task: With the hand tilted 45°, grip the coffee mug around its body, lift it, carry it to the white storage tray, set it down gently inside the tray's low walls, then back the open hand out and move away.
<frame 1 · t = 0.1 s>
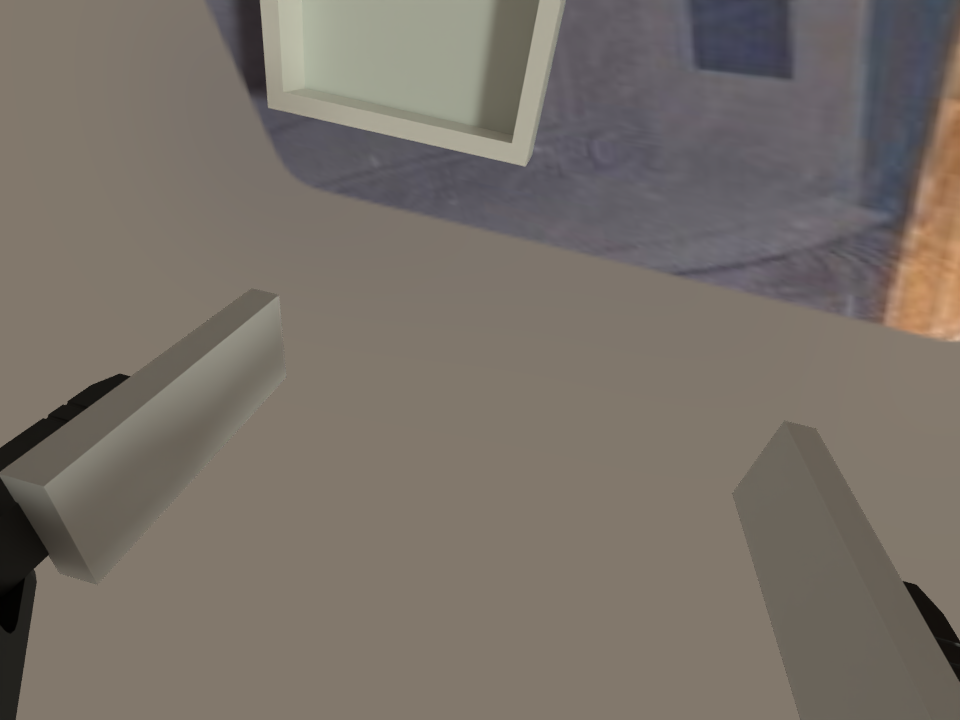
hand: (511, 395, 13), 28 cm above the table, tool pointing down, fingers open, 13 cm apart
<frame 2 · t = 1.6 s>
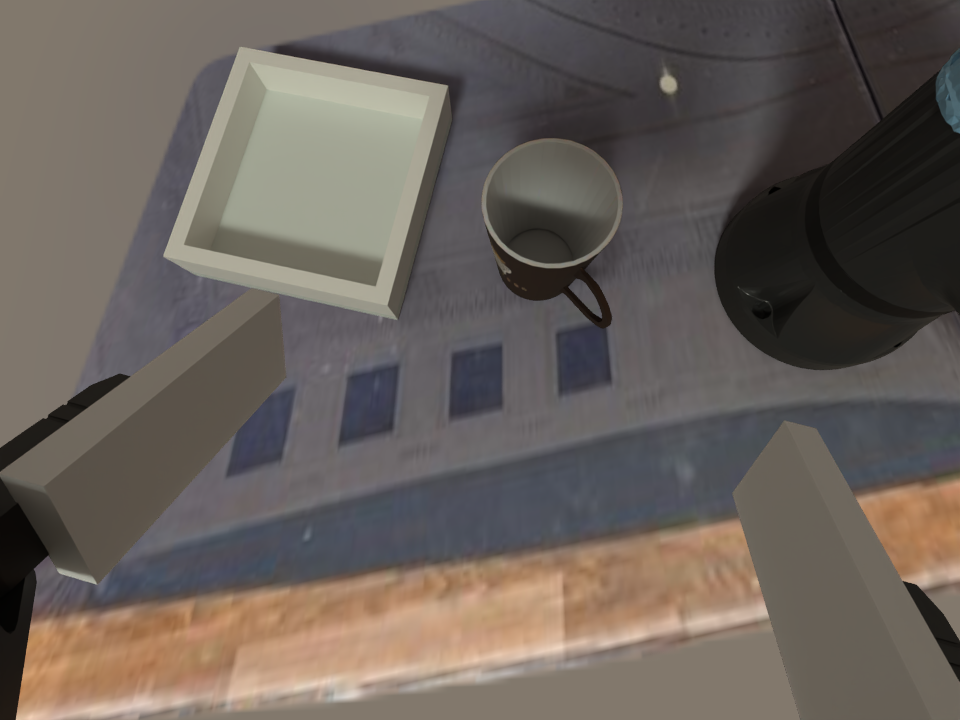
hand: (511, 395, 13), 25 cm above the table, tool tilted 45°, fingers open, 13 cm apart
white storage tray: (327, 195, 41), on the table
coffee mug: (538, 281, 39), on the table
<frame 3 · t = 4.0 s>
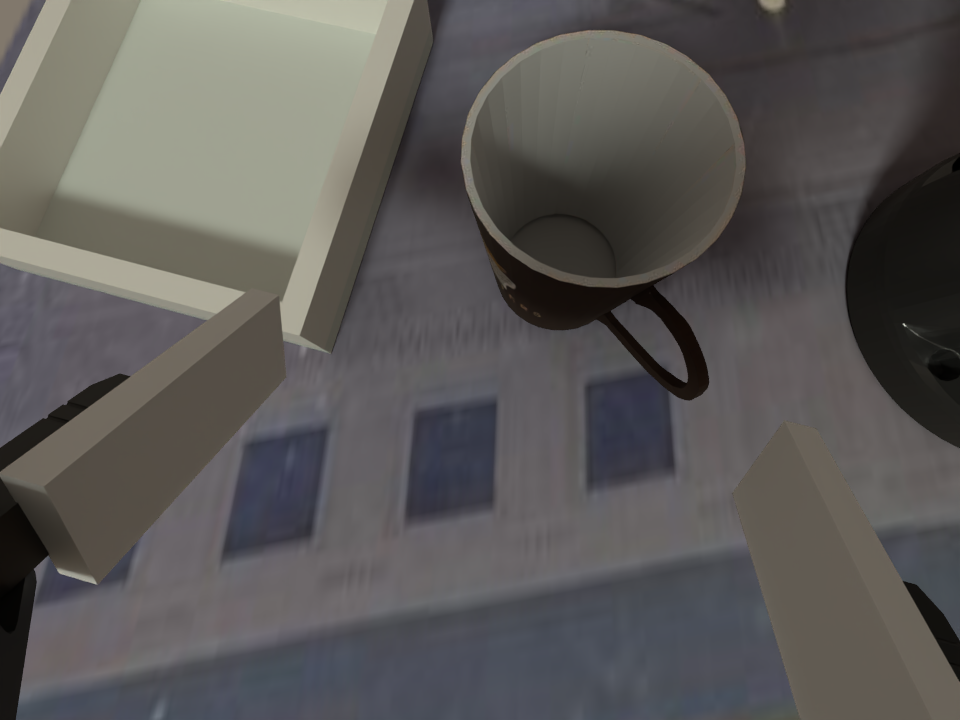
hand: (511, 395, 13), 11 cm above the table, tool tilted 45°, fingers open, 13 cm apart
white storage tray: (232, 151, 26), on the table
coffee mug: (558, 299, 25), on the table
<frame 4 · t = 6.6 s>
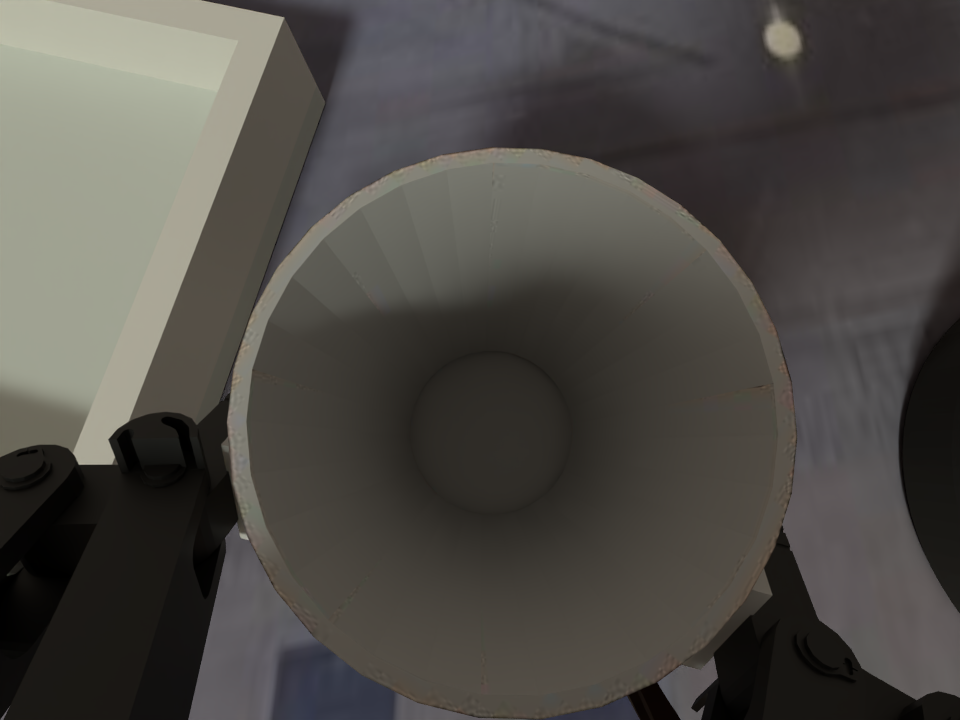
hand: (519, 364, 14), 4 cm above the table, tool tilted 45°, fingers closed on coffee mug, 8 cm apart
white storage tray: (43, 259, 19), on the table
coffee mug: (491, 474, 17), on the table, touching gripper
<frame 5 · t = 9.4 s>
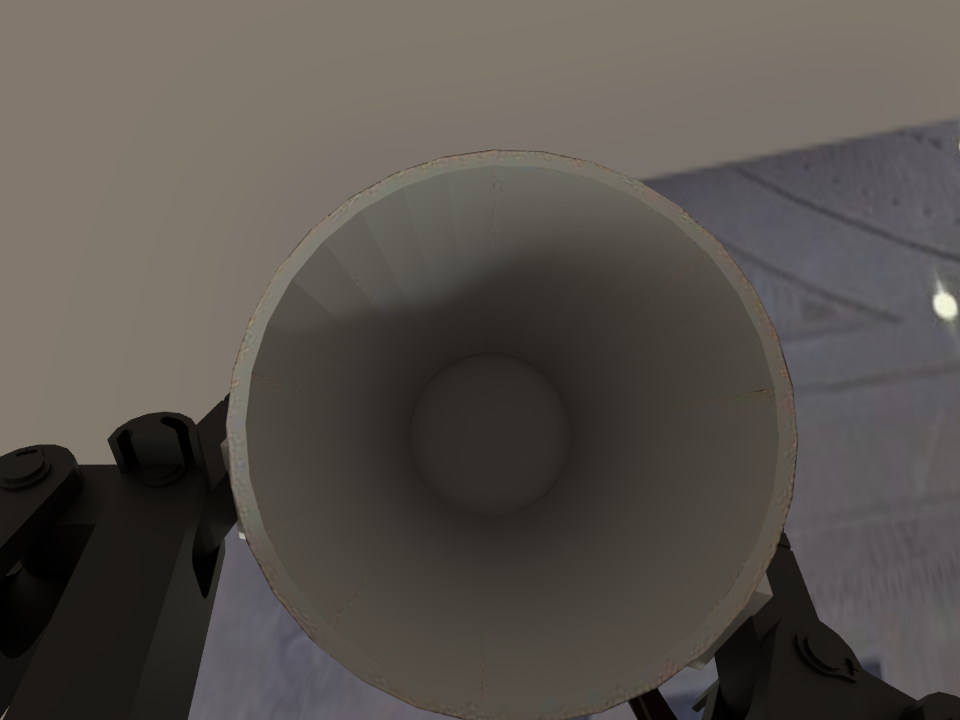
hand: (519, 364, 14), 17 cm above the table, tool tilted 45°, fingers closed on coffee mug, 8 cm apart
coffee mug: (491, 475, 17), point 13 cm above the table, touching gripper
when the fingers open (6 cm above the table, at t = 12.6 s): coffee mug moves 1 cm, resting on white storage tray.
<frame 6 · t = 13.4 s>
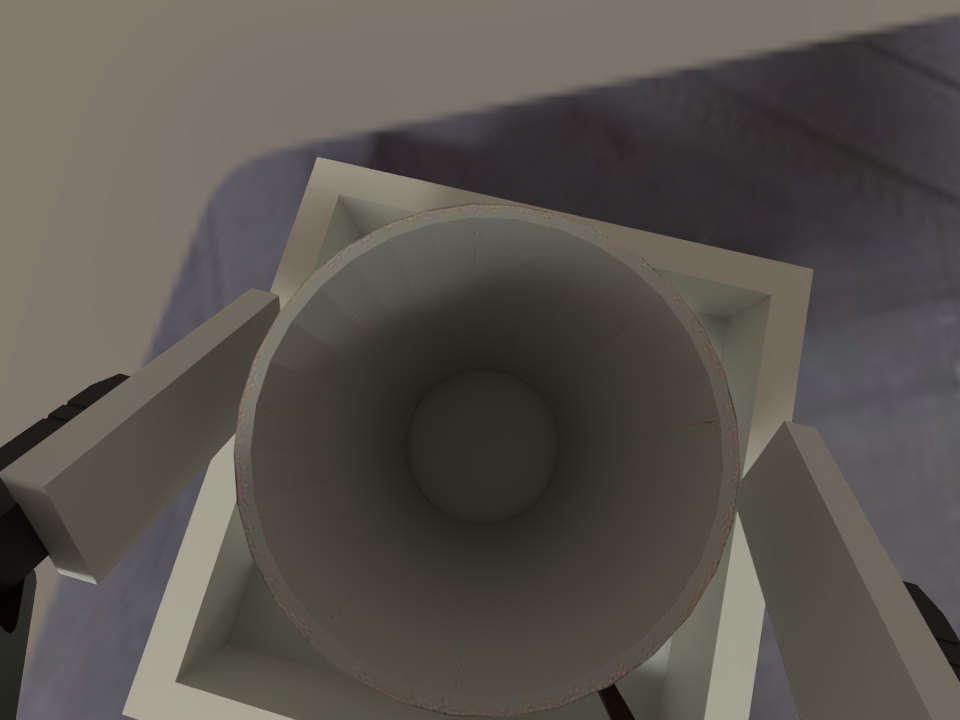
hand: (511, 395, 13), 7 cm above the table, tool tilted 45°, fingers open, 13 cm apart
white storage tray: (490, 471, 19), on the table
coffee mug: (483, 485, 18), point 1 cm above the table, touching white storage tray
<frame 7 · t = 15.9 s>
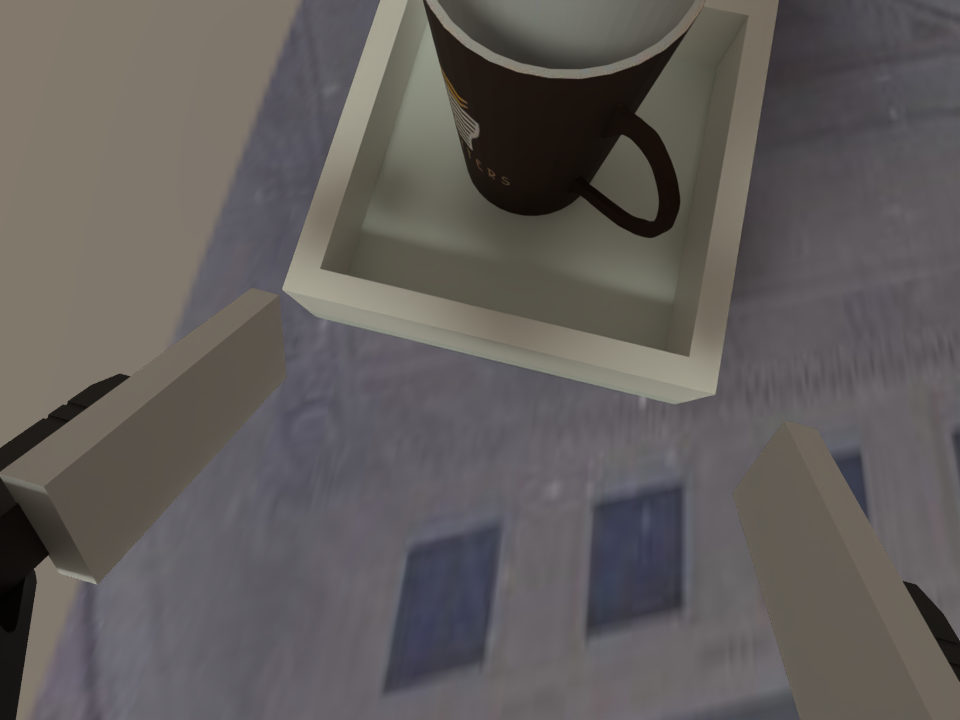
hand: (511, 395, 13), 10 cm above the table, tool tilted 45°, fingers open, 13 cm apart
white storage tray: (535, 186, 24), on the table
coffee mug: (531, 186, 24), point 1 cm above the table, touching white storage tray
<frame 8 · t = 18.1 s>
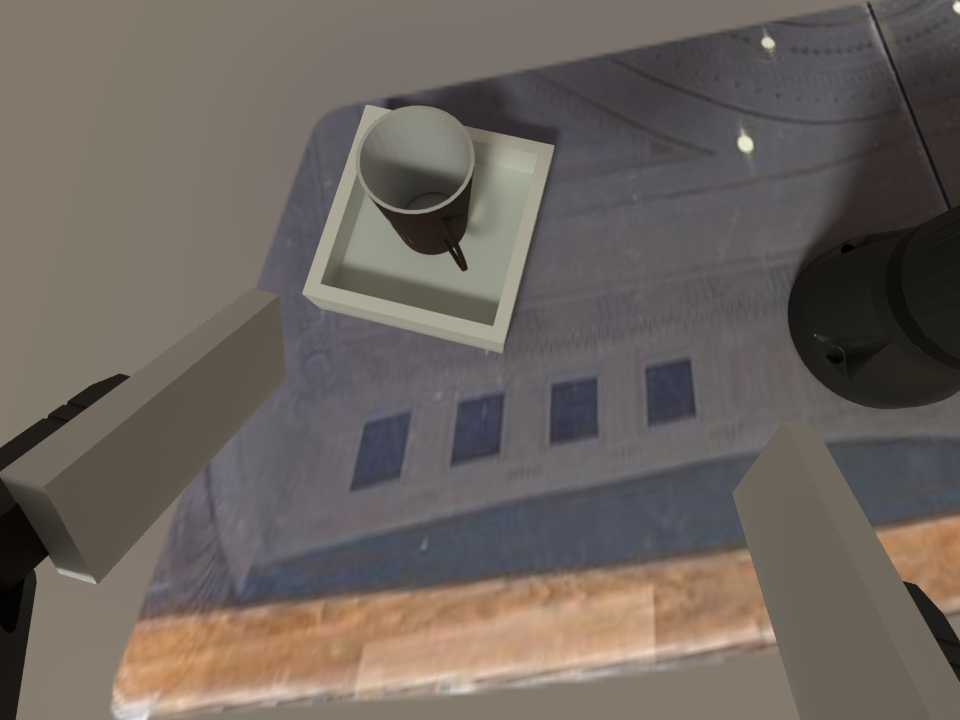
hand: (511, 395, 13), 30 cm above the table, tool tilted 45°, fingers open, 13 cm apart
white storage tray: (436, 237, 45), on the table
coffee mug: (432, 238, 45), point 1 cm above the table, touching white storage tray
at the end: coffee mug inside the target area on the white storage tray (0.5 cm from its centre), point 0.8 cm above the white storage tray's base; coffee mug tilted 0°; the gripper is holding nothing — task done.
